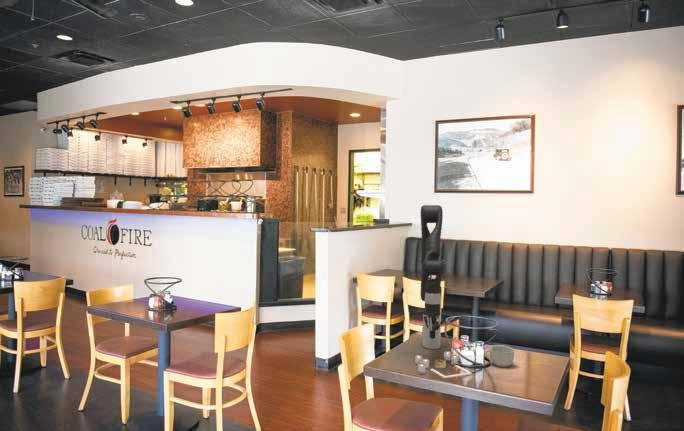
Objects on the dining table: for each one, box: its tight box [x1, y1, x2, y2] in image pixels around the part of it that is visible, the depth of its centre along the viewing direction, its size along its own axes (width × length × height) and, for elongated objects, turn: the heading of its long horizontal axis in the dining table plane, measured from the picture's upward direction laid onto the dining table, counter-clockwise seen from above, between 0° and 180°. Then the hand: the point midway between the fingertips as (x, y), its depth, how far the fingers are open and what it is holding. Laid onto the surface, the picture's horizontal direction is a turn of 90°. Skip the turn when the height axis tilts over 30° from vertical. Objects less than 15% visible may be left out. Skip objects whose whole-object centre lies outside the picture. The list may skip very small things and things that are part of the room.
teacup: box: [483, 344, 515, 368], centre depth 228 cm, size 14×11×8 cm
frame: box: [429, 364, 473, 380], centre depth 217 cm, size 11×14×1 cm
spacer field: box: [414, 350, 458, 376], centre depth 225 cm, size 14×28×4 cm, turn 112°
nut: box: [434, 359, 447, 369], centre depth 225 cm, size 6×5×3 cm
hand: (432, 338), depth 231 cm, fingers closed
